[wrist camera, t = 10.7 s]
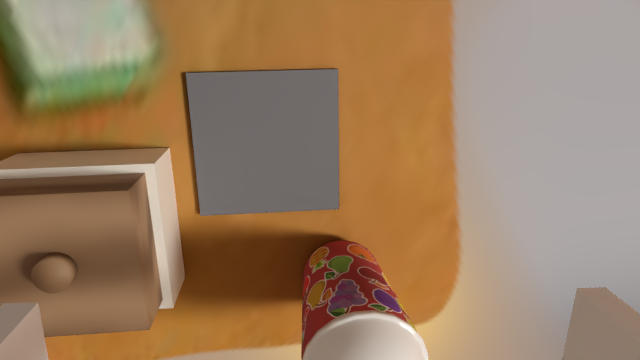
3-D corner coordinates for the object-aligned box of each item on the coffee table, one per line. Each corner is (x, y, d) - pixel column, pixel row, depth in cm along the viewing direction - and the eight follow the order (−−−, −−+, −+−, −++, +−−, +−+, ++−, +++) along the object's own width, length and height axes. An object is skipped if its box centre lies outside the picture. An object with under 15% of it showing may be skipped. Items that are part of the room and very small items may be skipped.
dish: (17, 153, 37) (-21, 170, 33) (169, 147, 38) (154, 163, 34) (46, 284, 41) (16, 317, 36) (185, 276, 42) (173, 307, 37)
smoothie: (313, 319, 44) (339, 532, 25) (279, 246, 42) (281, 423, 23) (394, 288, 44) (482, 480, 25) (366, 212, 42) (440, 363, 23)
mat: (186, 72, 37) (185, 72, 36) (337, 68, 38) (338, 69, 37) (201, 214, 40) (200, 215, 40) (338, 207, 41) (338, 208, 41)
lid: (-7, 179, 33) (-57, 205, 28) (145, 172, 34) (122, 196, 29) (24, 308, 36) (-16, 351, 31) (162, 299, 37) (144, 340, 32)
